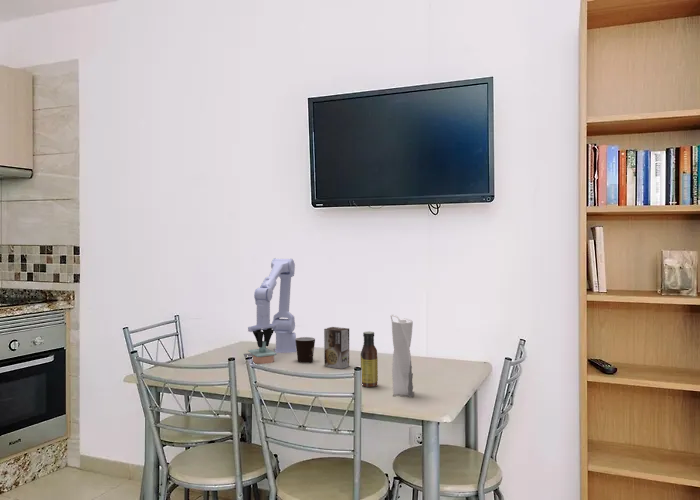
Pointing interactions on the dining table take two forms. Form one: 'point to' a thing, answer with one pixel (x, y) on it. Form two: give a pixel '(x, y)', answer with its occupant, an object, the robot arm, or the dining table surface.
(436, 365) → the dining table surface
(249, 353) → the mat
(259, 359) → the bowl
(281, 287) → the robot arm
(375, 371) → the sauce bottle
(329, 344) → the cookie box
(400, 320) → the skyscraper
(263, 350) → the lid
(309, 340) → the coffee mug
